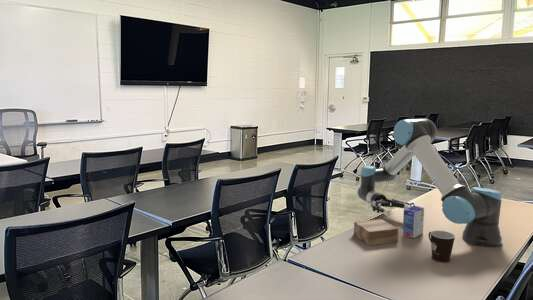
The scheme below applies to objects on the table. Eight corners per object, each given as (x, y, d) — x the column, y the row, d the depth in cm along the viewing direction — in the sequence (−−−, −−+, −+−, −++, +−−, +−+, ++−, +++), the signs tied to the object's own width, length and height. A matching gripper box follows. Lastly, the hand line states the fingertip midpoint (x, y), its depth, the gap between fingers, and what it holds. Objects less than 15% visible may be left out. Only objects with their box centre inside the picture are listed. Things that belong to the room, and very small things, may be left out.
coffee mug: (455, 264, 150) (457, 239, 148) (431, 262, 151) (433, 237, 150) (447, 252, 161) (449, 228, 159) (425, 250, 163) (427, 227, 161)
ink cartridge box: (411, 230, 186) (413, 200, 183) (423, 233, 182) (425, 202, 179) (401, 235, 179) (403, 204, 177) (413, 238, 175) (415, 207, 173)
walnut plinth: (397, 242, 171) (398, 228, 170) (368, 245, 168) (369, 231, 167) (380, 231, 184) (381, 219, 183) (353, 234, 180) (354, 221, 179)
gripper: (396, 204, 213) (422, 217, 192) (355, 208, 206) (377, 221, 186) (397, 190, 211) (423, 202, 191) (355, 194, 204) (378, 206, 184)
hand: (400, 211), depth 188 cm, fingers open, 13 cm apart
